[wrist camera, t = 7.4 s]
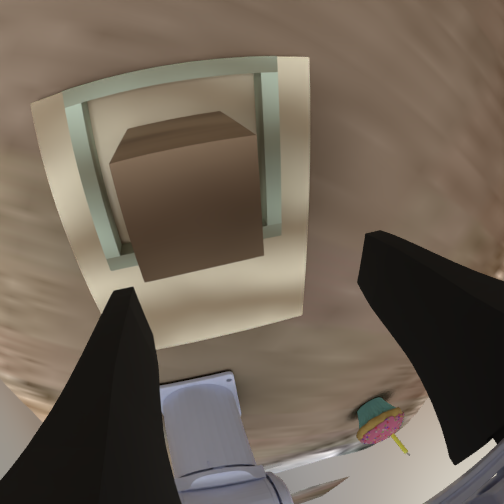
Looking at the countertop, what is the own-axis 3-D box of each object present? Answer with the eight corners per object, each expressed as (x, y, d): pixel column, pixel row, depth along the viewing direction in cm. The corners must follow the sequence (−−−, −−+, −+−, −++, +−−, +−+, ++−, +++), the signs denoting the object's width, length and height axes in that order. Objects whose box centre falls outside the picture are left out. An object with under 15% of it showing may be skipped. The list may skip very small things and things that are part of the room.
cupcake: (397, 384, 43) (432, 439, 34) (378, 409, 48) (407, 459, 38) (356, 400, 41) (391, 462, 31) (339, 424, 45) (368, 479, 36)
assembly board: (297, 306, 24) (308, 325, 22) (123, 345, 21) (123, 368, 20) (300, 57, 14) (320, 57, 12) (37, 101, 11) (20, 107, 9)
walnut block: (229, 193, 16) (264, 255, 11) (146, 211, 15) (144, 282, 11) (219, 110, 14) (256, 135, 9) (127, 128, 13) (108, 164, 8)
